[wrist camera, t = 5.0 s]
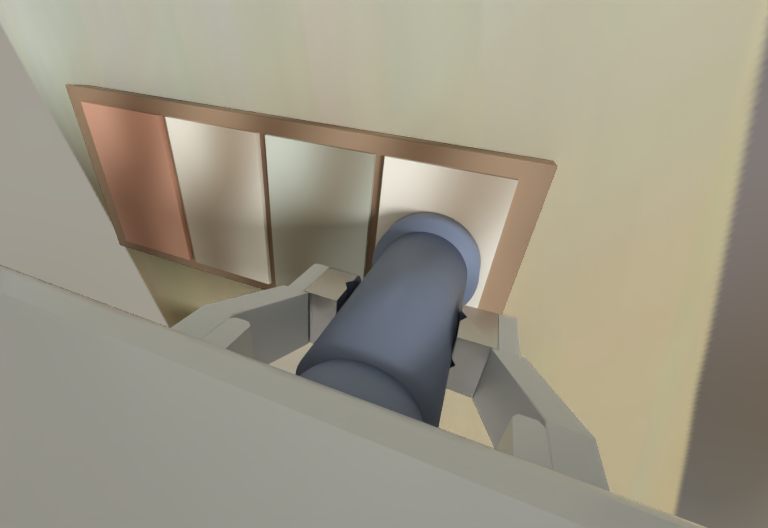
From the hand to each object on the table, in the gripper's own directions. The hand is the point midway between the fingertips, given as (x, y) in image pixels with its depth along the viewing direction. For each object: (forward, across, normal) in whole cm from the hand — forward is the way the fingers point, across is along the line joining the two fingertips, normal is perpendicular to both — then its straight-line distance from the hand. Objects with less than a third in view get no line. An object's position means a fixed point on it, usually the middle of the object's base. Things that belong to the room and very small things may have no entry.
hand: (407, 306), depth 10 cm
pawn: (+3, 0, 0) cm, 3 cm away
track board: (+4, -8, 0) cm, 9 cm away
